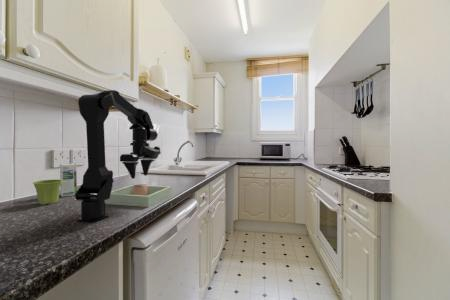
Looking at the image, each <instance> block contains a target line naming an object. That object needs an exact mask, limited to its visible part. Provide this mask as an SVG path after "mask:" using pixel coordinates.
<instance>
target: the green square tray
mask: <svg viewBox="0 0 450 300" xmlns="http://www.w3.org/2000/svg"><path fill="white" fill-rule="evenodd" d="M133 185H134V184H131V185H128V186H124V187H121V188H117V189H114V190H111V194H110V198H109V199H107V200H105V205H117V206H128V207H129V206H131V207H139V208H140V207H143V208H150V207H151V206H153V205H155V204H157V203H160V202H162V201H164V200H165V199H167V198H169V197H171V196H172V193H173V192H172V190H173V189H172V186H166V185H165V186H163V185H162V186H161V185H148V184H146V185H147V196H143V195H132V186H133Z"/></svg>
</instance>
